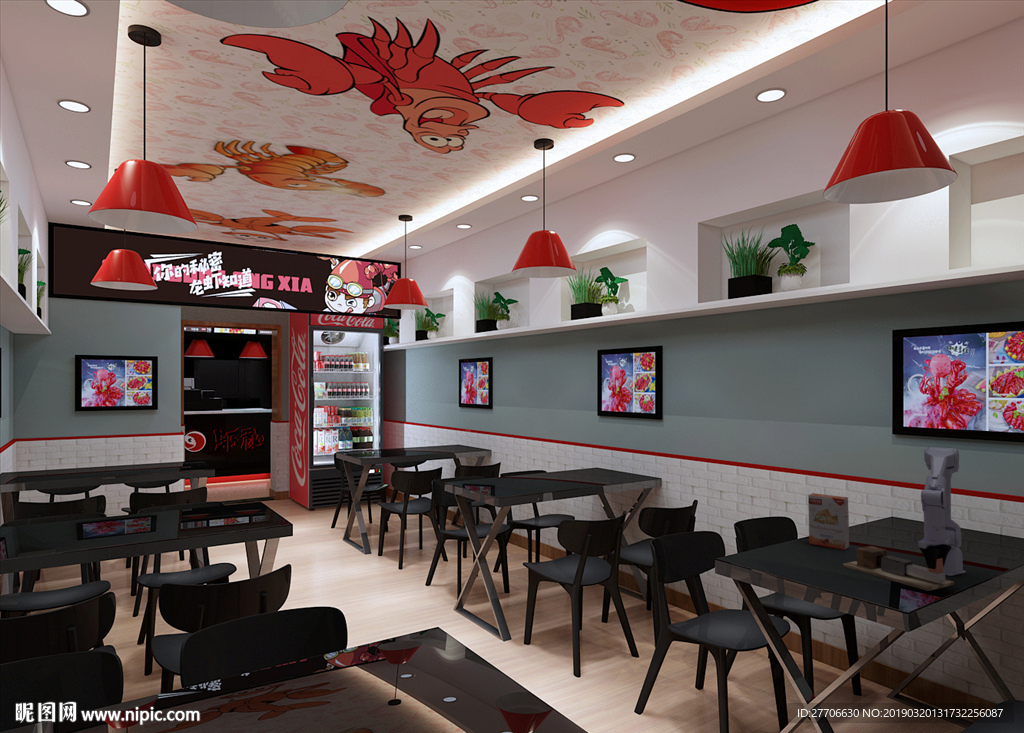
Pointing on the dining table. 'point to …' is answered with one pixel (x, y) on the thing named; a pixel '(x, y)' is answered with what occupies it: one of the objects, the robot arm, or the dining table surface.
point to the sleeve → (894, 565)
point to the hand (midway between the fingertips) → (935, 567)
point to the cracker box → (828, 521)
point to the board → (901, 578)
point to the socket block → (870, 557)
